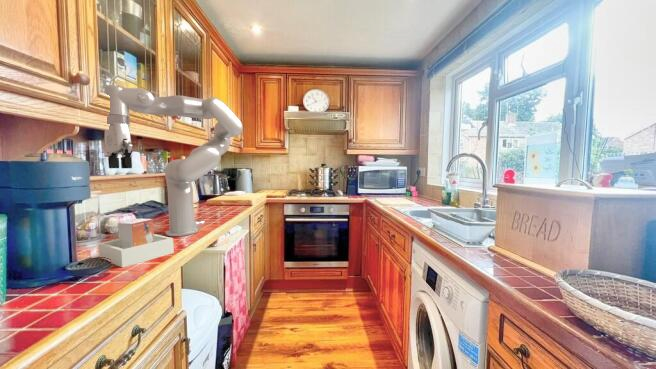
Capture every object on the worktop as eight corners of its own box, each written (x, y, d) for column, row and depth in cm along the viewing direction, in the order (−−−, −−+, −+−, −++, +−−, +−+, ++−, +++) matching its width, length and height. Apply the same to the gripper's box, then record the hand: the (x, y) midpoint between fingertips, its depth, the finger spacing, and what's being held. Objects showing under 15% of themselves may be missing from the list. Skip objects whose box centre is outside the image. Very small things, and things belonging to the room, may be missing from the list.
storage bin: (149, 246, 100) (149, 232, 100) (173, 252, 93) (173, 238, 92) (99, 258, 87) (98, 243, 87) (122, 267, 80) (121, 250, 79)
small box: (133, 257, 85) (130, 223, 85) (119, 255, 87) (116, 222, 86) (155, 249, 93) (153, 218, 92) (142, 248, 95) (140, 217, 94)
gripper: (94, 122, 102) (97, 168, 103) (116, 117, 93) (119, 168, 95) (118, 124, 108) (120, 168, 110) (140, 120, 100) (143, 168, 101)
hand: (120, 168), depth 102 cm, fingers open, 9 cm apart
